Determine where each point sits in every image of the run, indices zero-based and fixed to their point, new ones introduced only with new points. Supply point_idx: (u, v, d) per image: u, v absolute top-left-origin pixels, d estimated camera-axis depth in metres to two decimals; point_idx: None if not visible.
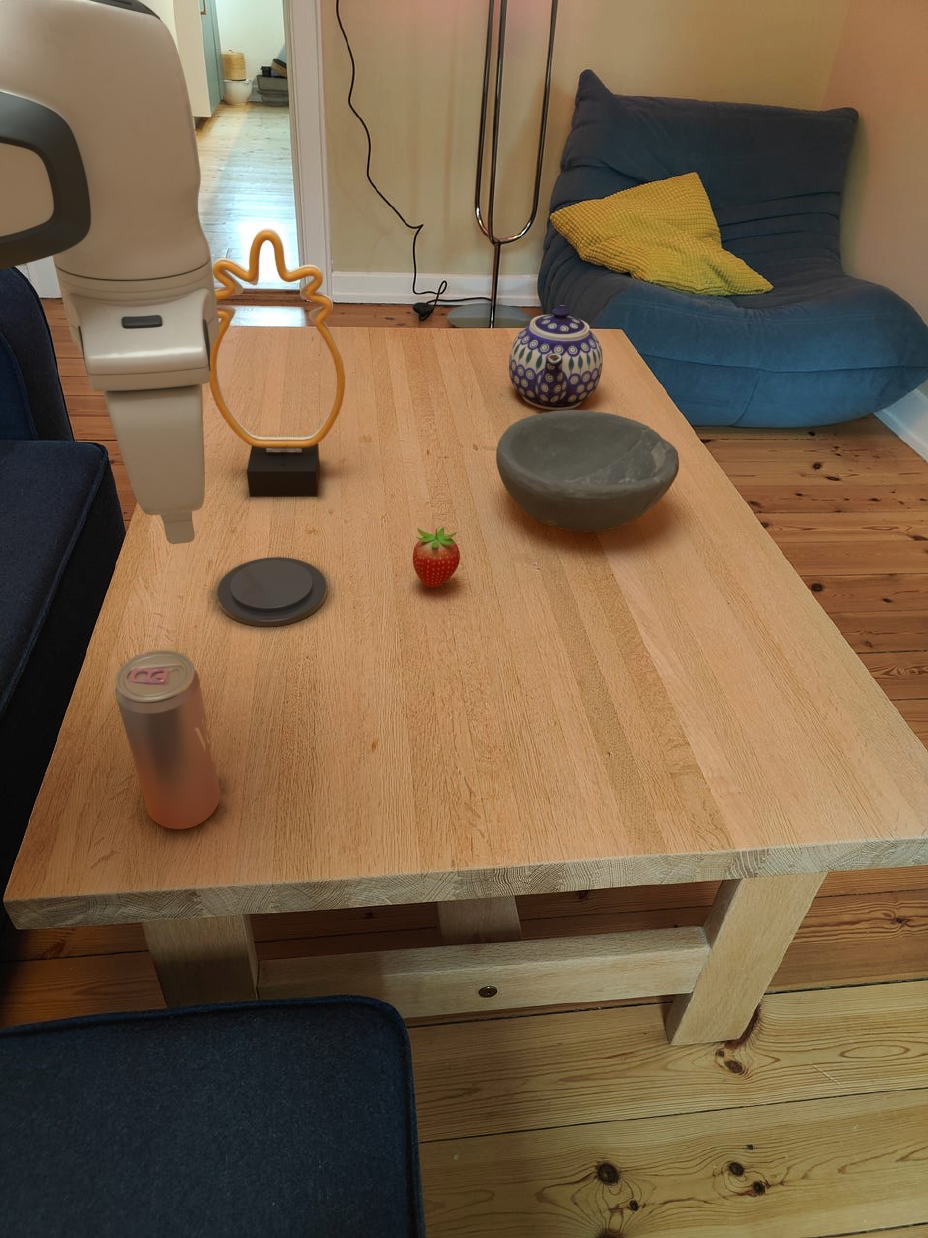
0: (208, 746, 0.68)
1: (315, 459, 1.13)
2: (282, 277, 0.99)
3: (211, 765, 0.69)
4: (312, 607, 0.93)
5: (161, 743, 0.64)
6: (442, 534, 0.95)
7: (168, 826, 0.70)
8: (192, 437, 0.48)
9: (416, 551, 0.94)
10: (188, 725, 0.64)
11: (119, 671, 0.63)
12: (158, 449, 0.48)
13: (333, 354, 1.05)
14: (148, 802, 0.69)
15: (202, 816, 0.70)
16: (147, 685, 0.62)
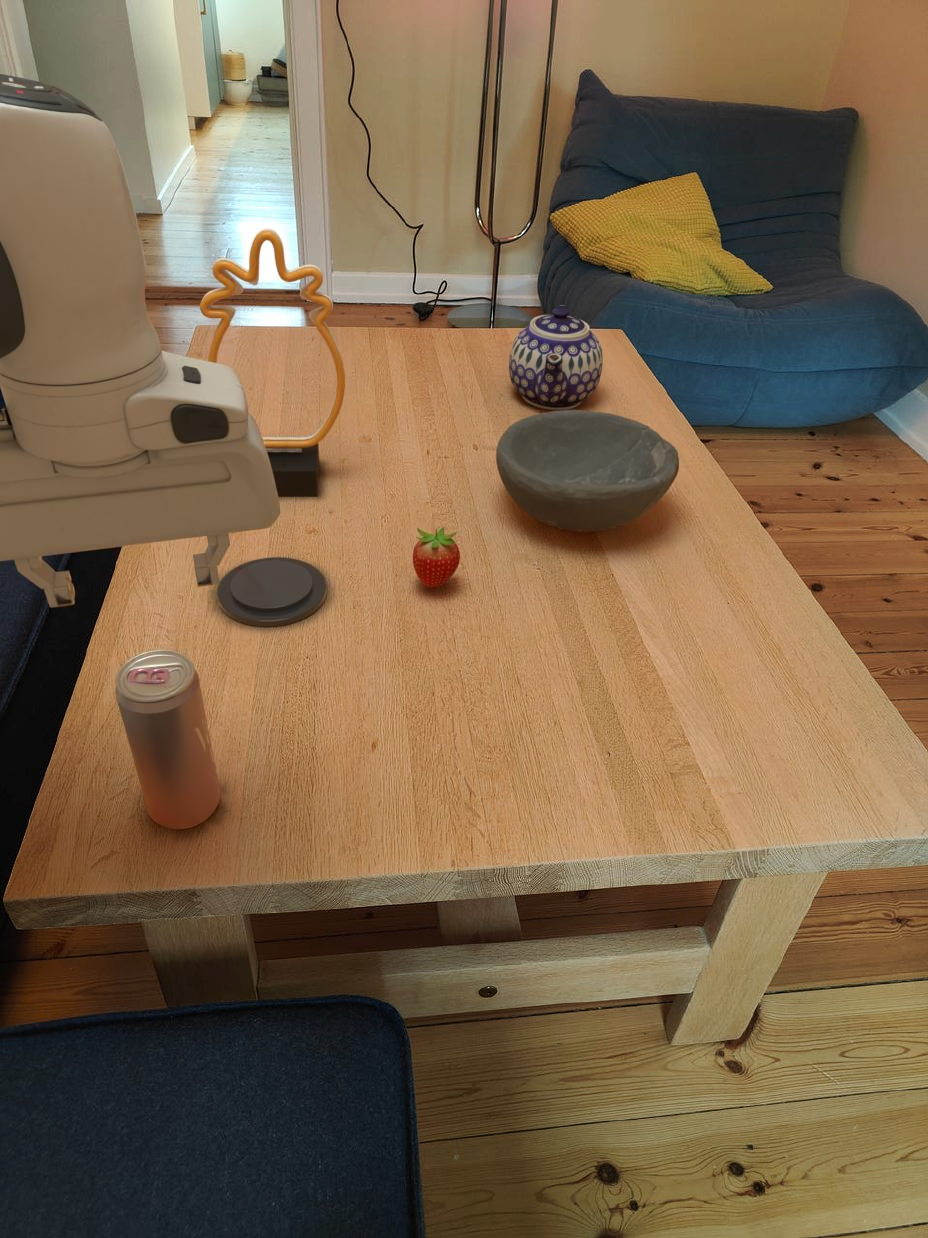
0: (208, 746, 0.68)
1: (315, 459, 1.13)
2: (282, 277, 0.99)
3: (211, 765, 0.69)
4: (312, 607, 0.93)
5: (161, 743, 0.64)
6: (442, 534, 0.95)
7: (168, 826, 0.70)
8: None
9: (416, 551, 0.94)
10: (188, 725, 0.64)
11: (119, 671, 0.63)
12: (268, 457, 0.55)
13: (333, 354, 1.05)
14: (148, 802, 0.69)
15: (202, 816, 0.70)
16: (147, 685, 0.62)
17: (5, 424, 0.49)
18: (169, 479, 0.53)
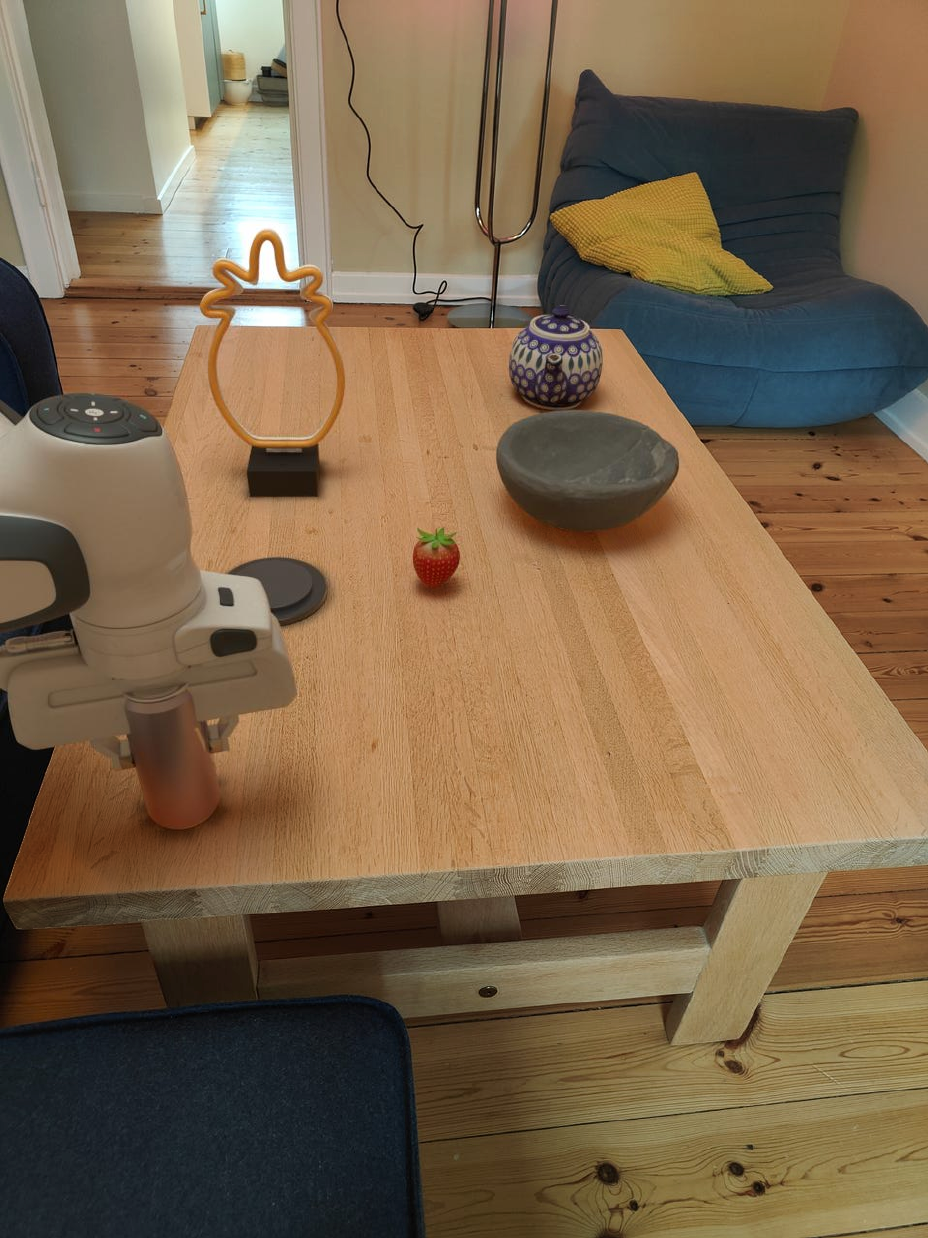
0: (208, 746, 0.68)
1: (315, 459, 1.13)
2: (282, 277, 0.99)
3: (211, 765, 0.69)
4: (312, 607, 0.93)
5: (161, 744, 0.64)
6: (442, 534, 0.95)
7: (168, 826, 0.70)
8: (282, 631, 0.67)
9: (416, 551, 0.94)
10: (188, 725, 0.64)
11: None
12: (287, 651, 0.66)
13: (333, 354, 1.05)
14: (148, 802, 0.69)
15: (201, 816, 0.70)
16: None
17: (73, 644, 0.59)
18: (206, 677, 0.63)
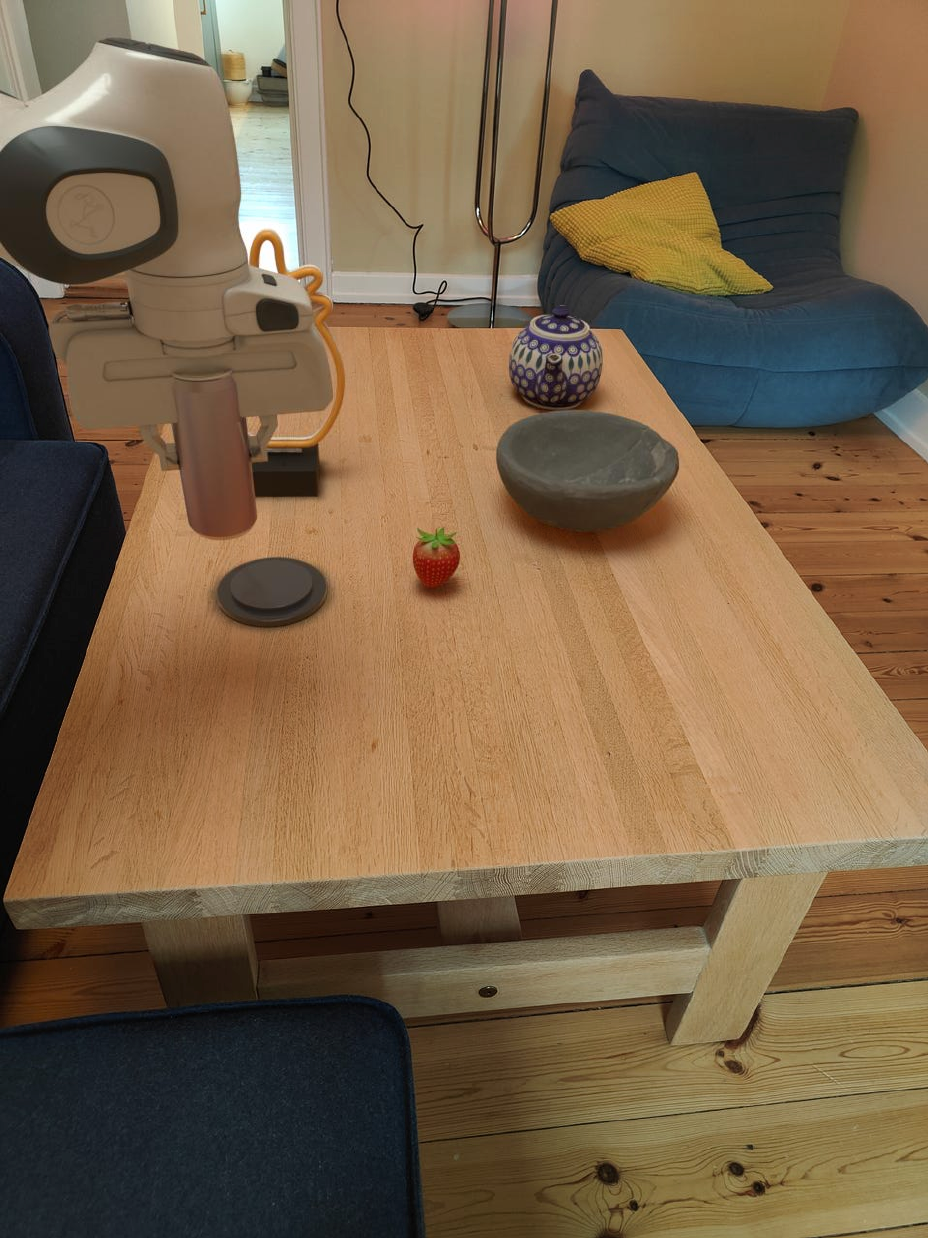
0: (248, 451, 0.72)
1: (315, 459, 1.13)
2: None
3: (250, 474, 0.73)
4: (312, 607, 0.93)
5: (206, 431, 0.68)
6: (442, 534, 0.95)
7: (209, 534, 0.74)
8: None
9: (416, 551, 0.94)
10: (231, 414, 0.68)
11: None
12: None
13: (333, 354, 1.05)
14: (191, 508, 0.73)
15: (241, 527, 0.74)
16: None
17: (127, 314, 0.63)
18: (249, 364, 0.67)
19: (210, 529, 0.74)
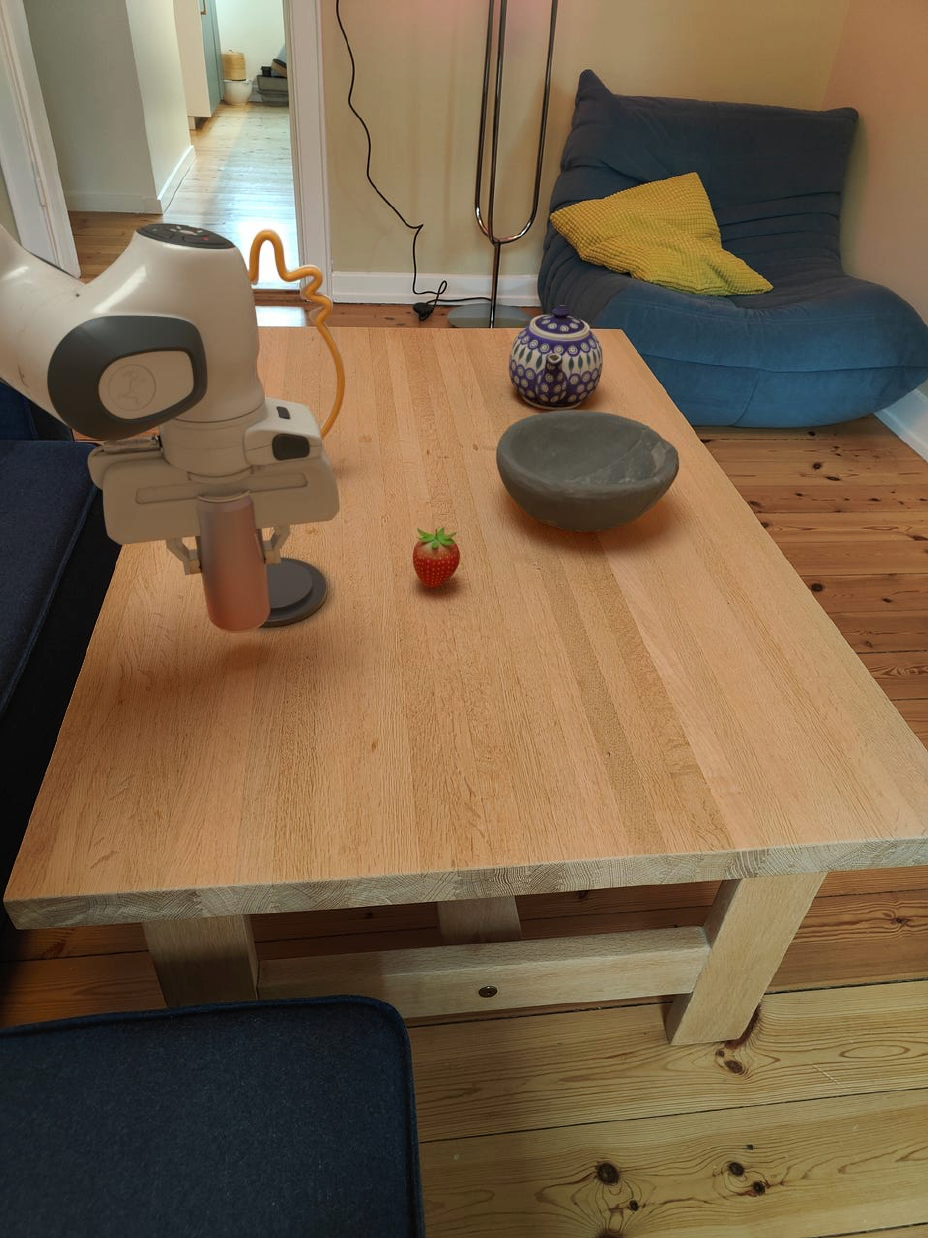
0: (263, 556, 0.80)
1: None
2: (282, 277, 0.99)
3: (265, 574, 0.81)
4: (312, 607, 0.93)
5: (226, 543, 0.76)
6: (442, 534, 0.95)
7: (227, 629, 0.82)
8: None
9: (416, 551, 0.94)
10: (249, 528, 0.76)
11: None
12: None
13: (333, 354, 1.05)
14: (211, 606, 0.81)
15: (256, 621, 0.82)
16: None
17: (157, 446, 0.71)
18: (265, 485, 0.75)
19: (228, 624, 0.81)
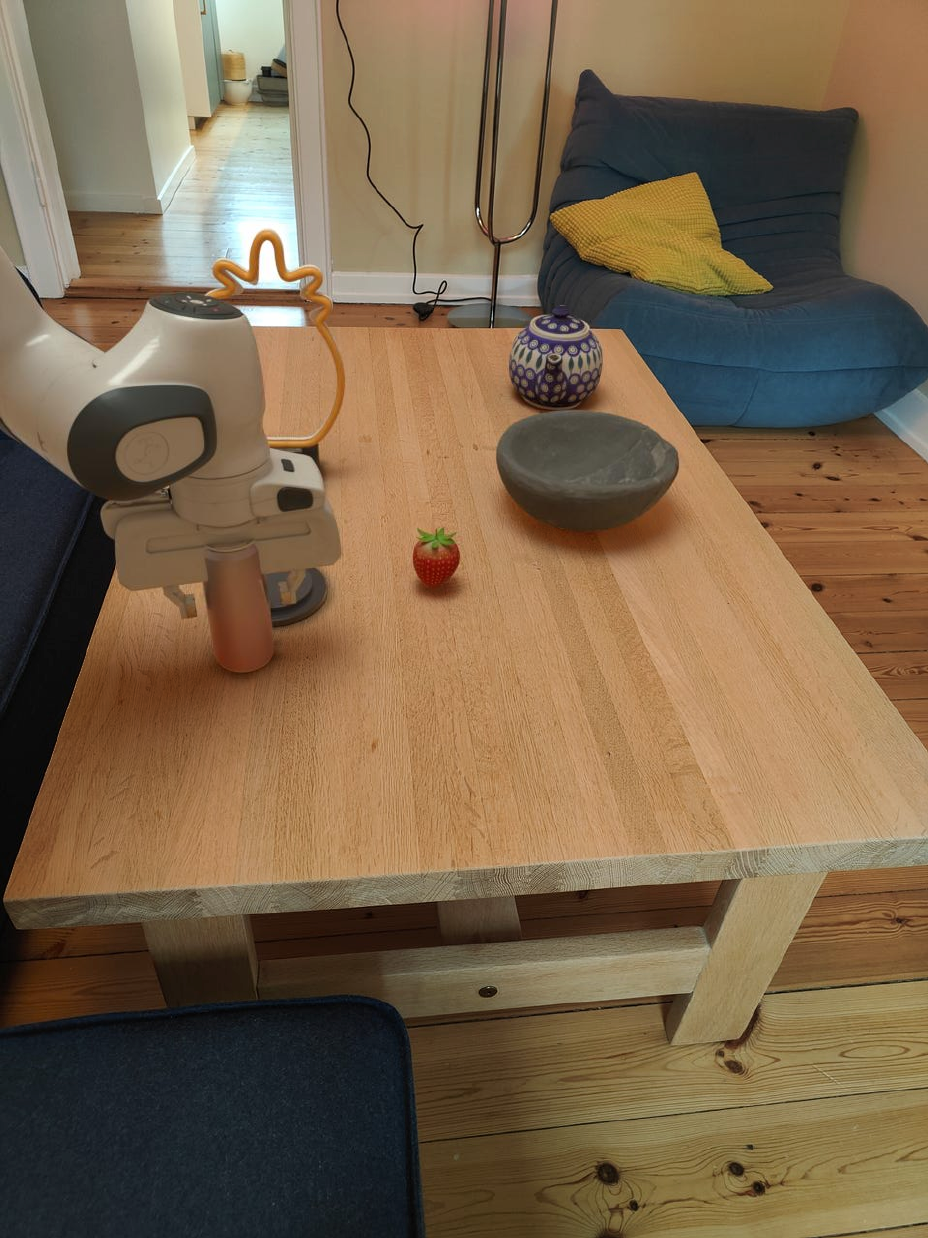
0: (267, 600, 0.83)
1: (315, 459, 1.13)
2: (282, 277, 0.99)
3: (269, 617, 0.84)
4: (312, 607, 0.93)
5: (233, 590, 0.79)
6: (442, 534, 0.95)
7: (233, 669, 0.85)
8: None
9: (416, 551, 0.94)
10: (254, 575, 0.79)
11: None
12: None
13: (333, 354, 1.05)
14: (217, 647, 0.84)
15: (261, 661, 0.85)
16: None
17: (167, 499, 0.74)
18: (270, 533, 0.78)
19: (234, 665, 0.85)
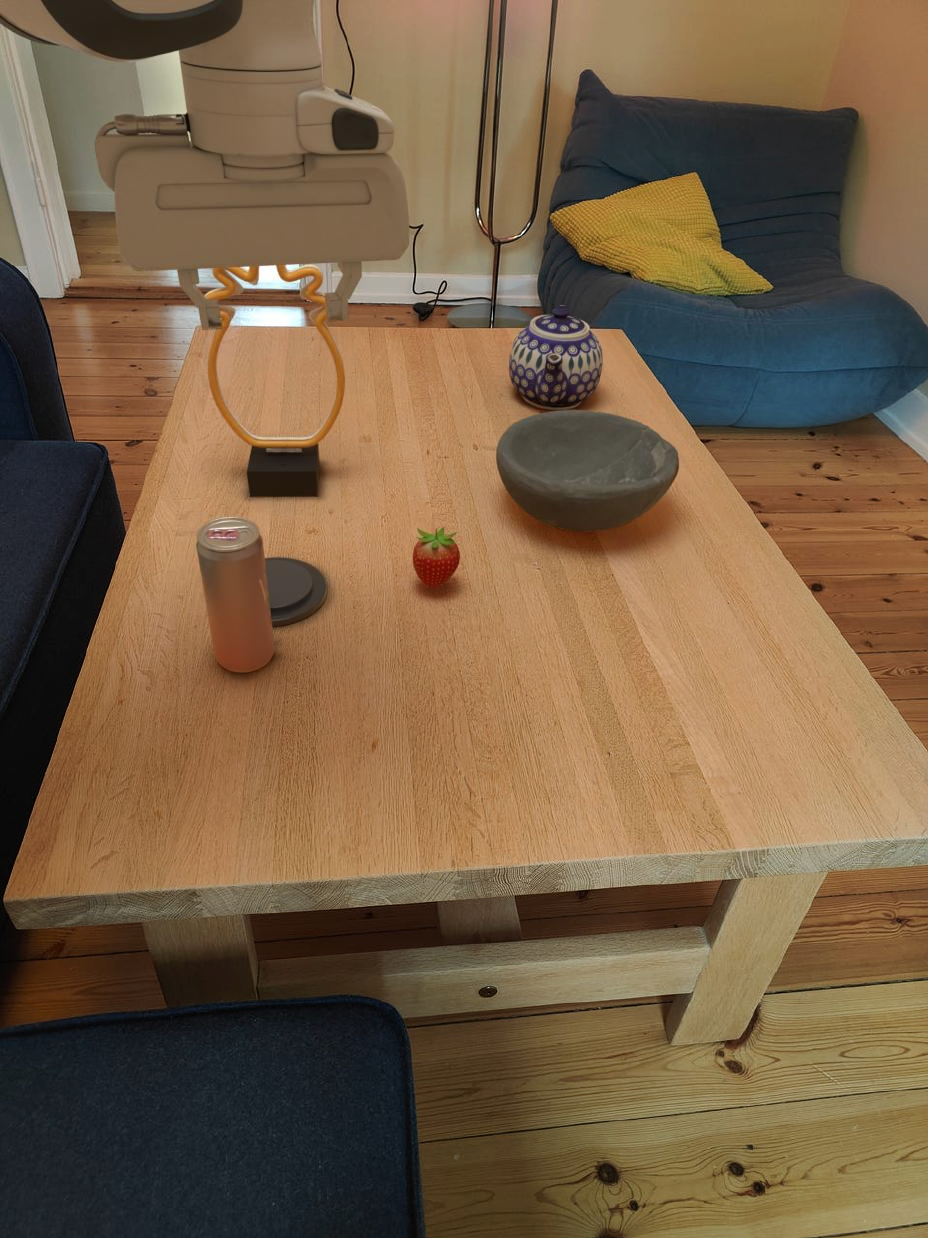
0: (267, 600, 0.83)
1: (315, 459, 1.13)
2: (282, 277, 0.99)
3: (269, 617, 0.84)
4: (312, 607, 0.93)
5: (233, 590, 0.79)
6: (442, 534, 0.95)
7: (233, 669, 0.85)
8: None
9: (416, 551, 0.94)
10: (254, 575, 0.79)
11: (199, 530, 0.78)
12: None
13: (333, 354, 1.05)
14: (217, 647, 0.84)
15: (261, 661, 0.85)
16: (222, 540, 0.78)
17: (184, 128, 0.55)
18: (319, 197, 0.59)
19: (234, 665, 0.84)
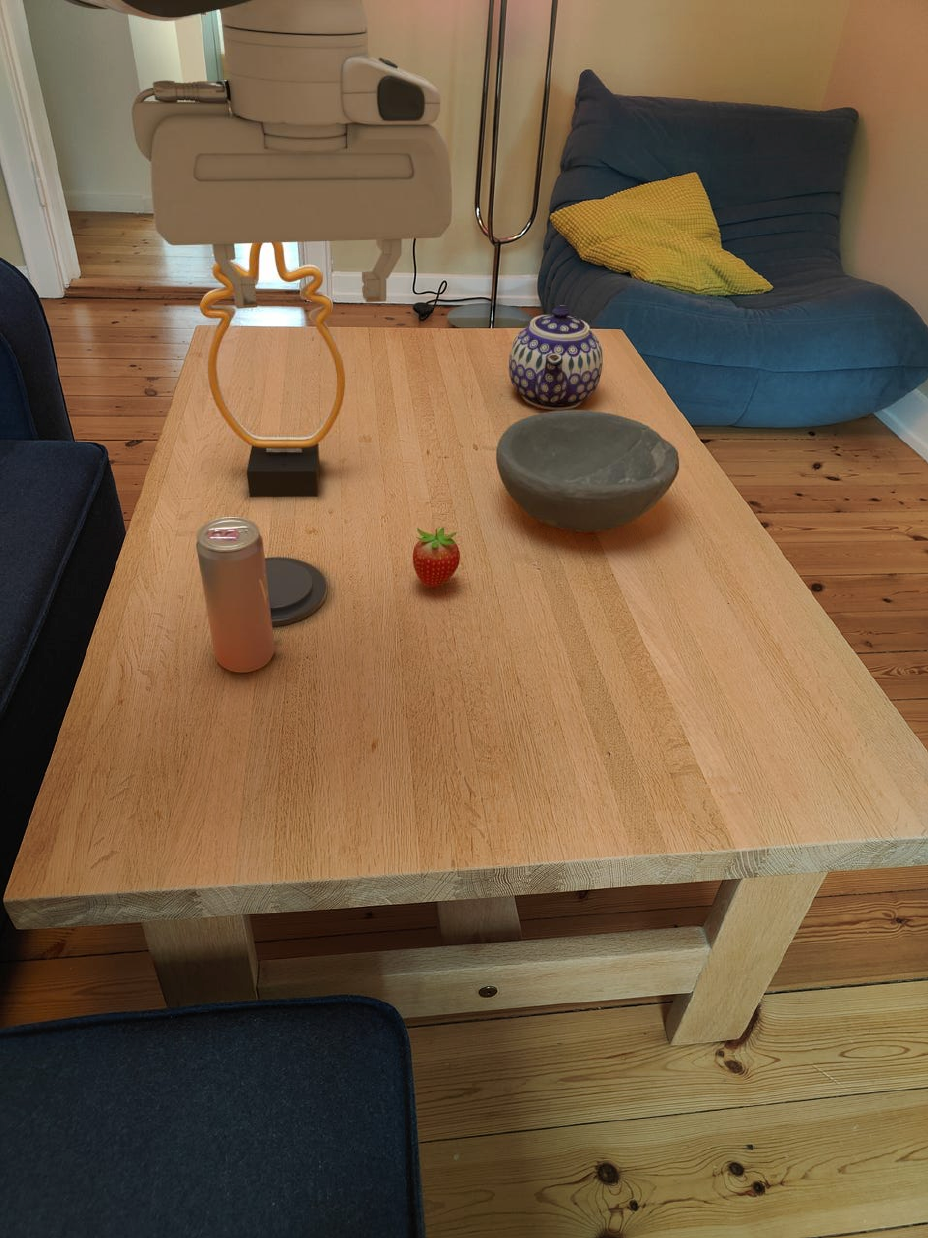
0: (267, 600, 0.83)
1: (315, 459, 1.13)
2: (282, 277, 0.99)
3: (269, 617, 0.84)
4: (312, 607, 0.93)
5: (233, 590, 0.79)
6: (442, 534, 0.95)
7: (233, 669, 0.85)
8: None
9: (416, 551, 0.94)
10: (254, 575, 0.79)
11: (199, 530, 0.78)
12: None
13: (333, 354, 1.05)
14: (217, 647, 0.84)
15: (261, 661, 0.85)
16: (222, 540, 0.78)
17: (224, 95, 0.53)
18: (360, 170, 0.57)
19: (234, 665, 0.85)
